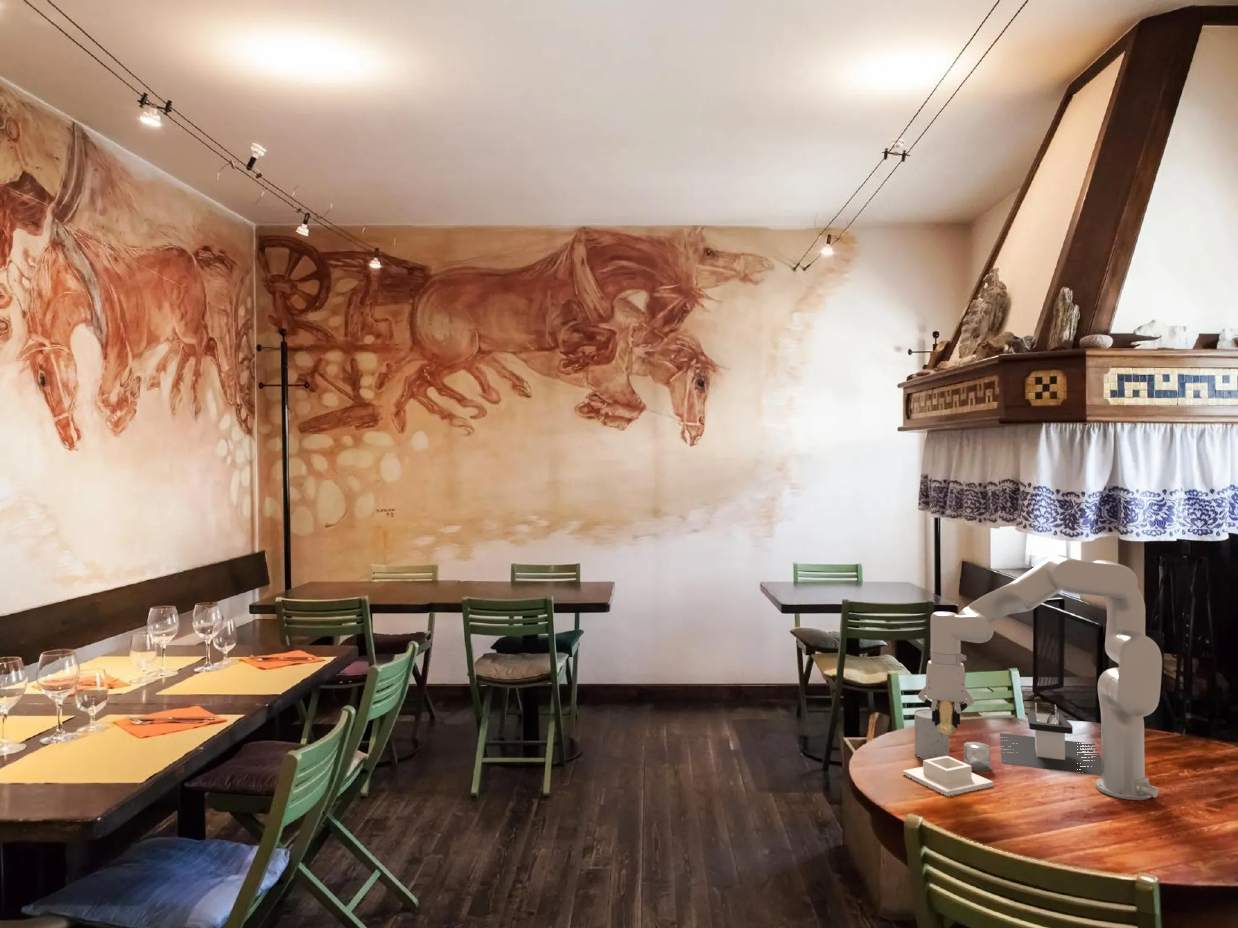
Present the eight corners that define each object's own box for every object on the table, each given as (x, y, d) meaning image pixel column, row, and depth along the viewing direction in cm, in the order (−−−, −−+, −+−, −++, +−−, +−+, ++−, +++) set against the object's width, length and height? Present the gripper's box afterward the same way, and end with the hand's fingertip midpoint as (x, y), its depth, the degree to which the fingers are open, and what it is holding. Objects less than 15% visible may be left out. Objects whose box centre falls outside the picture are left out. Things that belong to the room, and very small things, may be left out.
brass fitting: (958, 732, 217) (958, 699, 217) (946, 734, 215) (945, 701, 215) (946, 727, 221) (945, 694, 221) (933, 729, 219) (933, 696, 220)
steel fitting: (995, 769, 226) (995, 747, 226) (977, 773, 223) (977, 751, 223) (976, 761, 232) (976, 740, 232) (958, 764, 229) (958, 743, 229)
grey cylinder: (943, 750, 241) (943, 709, 241) (953, 762, 231) (953, 719, 231) (910, 749, 242) (910, 708, 242) (919, 761, 232) (919, 718, 232)
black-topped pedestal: (1108, 776, 219) (1107, 727, 219) (1001, 763, 230) (1001, 716, 230) (1095, 744, 245) (1094, 700, 245) (999, 733, 256) (999, 691, 256)
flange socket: (993, 786, 214) (993, 768, 214) (947, 796, 208) (946, 778, 208) (947, 765, 228) (947, 749, 229) (903, 774, 222) (902, 757, 222)
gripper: (979, 657, 218) (979, 725, 218) (913, 652, 225) (913, 717, 225) (980, 664, 211) (980, 733, 211) (911, 658, 218) (912, 726, 218)
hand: (946, 724), depth 218 cm, fingers closed on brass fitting, 4 cm apart
